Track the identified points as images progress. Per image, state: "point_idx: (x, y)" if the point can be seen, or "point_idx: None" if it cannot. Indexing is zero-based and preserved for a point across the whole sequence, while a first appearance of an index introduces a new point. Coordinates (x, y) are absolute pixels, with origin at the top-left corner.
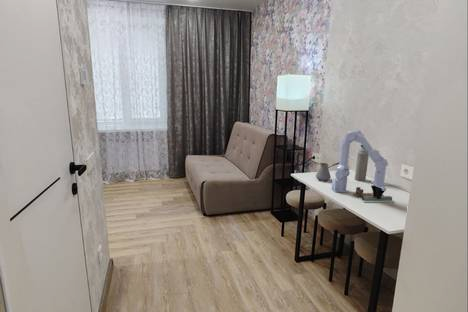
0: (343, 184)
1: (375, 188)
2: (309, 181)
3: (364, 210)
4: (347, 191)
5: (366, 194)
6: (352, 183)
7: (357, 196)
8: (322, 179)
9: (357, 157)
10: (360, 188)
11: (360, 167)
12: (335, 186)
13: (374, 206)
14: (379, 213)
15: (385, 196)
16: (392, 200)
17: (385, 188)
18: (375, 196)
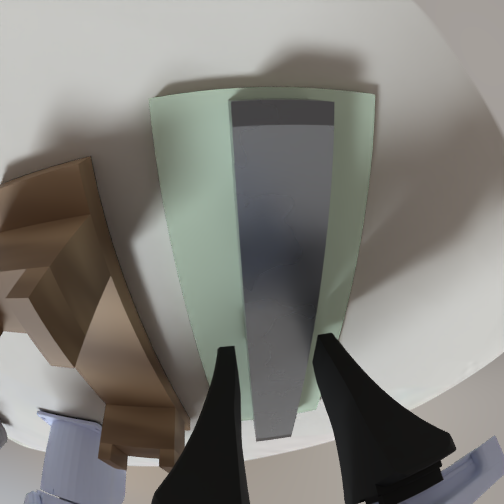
0: (107, 484)
1: (245, 490)
2: (41, 447)
3: (412, 397)
4: (99, 428)
5: (121, 377)
6: None
7: (188, 421)
8: (4, 430)
9: None
10: (110, 452)
11: None
12: (124, 479)
13: (398, 360)
14: (469, 346)
15: (272, 242)
16: (322, 94)
17: (498, 470)
18: (268, 377)
